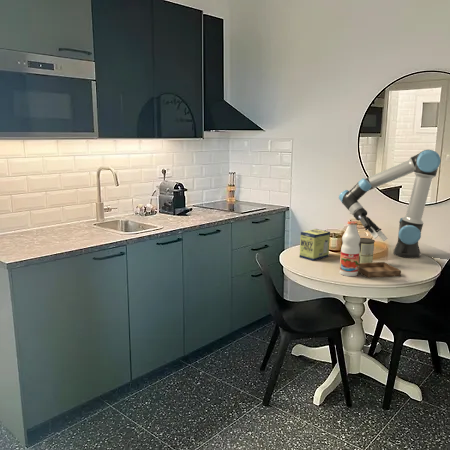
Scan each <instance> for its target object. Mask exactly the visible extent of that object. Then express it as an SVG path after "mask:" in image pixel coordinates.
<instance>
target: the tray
mask: <svg viewBox="0 0 450 450" xmlns="http://www.w3.org/2000/svg"><path fill="white" fill-rule="evenodd" d="M358 272H359V273H358V274H360V275H362V276H363V277H365V278H367V279H374V278H376V279H377V278H392V277H394V278H395V277H401V276H402V270H401V269H398V268H397V267H395V266H393V265H391V264H389V263H387V262H385V261H379V262H377V261H376V262H372V263H359V265H358Z"/></svg>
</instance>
